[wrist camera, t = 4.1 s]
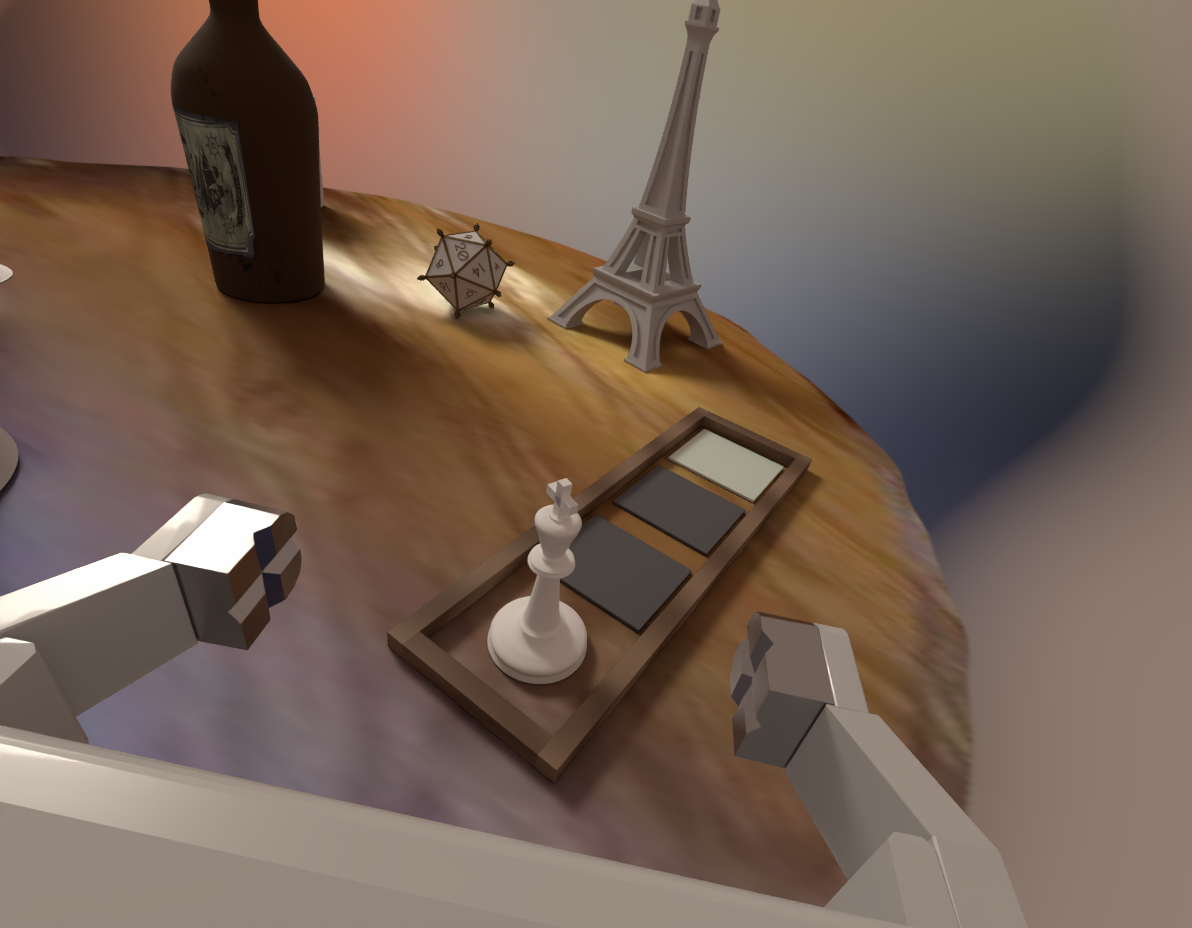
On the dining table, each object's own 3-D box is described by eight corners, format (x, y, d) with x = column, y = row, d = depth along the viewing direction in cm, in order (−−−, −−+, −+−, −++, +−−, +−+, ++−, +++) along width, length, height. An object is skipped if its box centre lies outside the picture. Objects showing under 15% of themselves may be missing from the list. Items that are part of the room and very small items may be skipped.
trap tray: (553, 783, 25) (556, 770, 24) (387, 645, 29) (387, 632, 28) (807, 469, 48) (812, 459, 48) (695, 417, 52) (699, 407, 52)
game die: (481, 346, 65) (531, 293, 58) (403, 319, 60) (447, 258, 53) (481, 280, 68) (528, 222, 61) (408, 249, 64) (450, 184, 57)
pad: (753, 502, 43) (753, 500, 43) (668, 459, 46) (668, 457, 46) (782, 468, 48) (783, 466, 48) (703, 430, 50) (704, 428, 50)
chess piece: (552, 591, 34) (580, 438, 28) (605, 658, 31) (649, 501, 25) (469, 625, 31) (481, 463, 25) (519, 702, 28) (546, 537, 22)
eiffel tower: (546, 320, 64) (593, -48, 47) (628, 300, 73) (692, -16, 56) (644, 374, 58) (739, -31, 41) (721, 345, 67) (825, 2, 50)
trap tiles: (638, 632, 32) (638, 630, 32) (535, 564, 35) (535, 562, 35) (744, 512, 42) (745, 510, 42) (658, 467, 45) (658, 464, 45)
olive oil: (279, 258, 65) (242, -41, 51) (355, 289, 62) (337, -22, 48) (181, 280, 57) (104, -69, 43) (262, 316, 54) (208, -49, 40)
